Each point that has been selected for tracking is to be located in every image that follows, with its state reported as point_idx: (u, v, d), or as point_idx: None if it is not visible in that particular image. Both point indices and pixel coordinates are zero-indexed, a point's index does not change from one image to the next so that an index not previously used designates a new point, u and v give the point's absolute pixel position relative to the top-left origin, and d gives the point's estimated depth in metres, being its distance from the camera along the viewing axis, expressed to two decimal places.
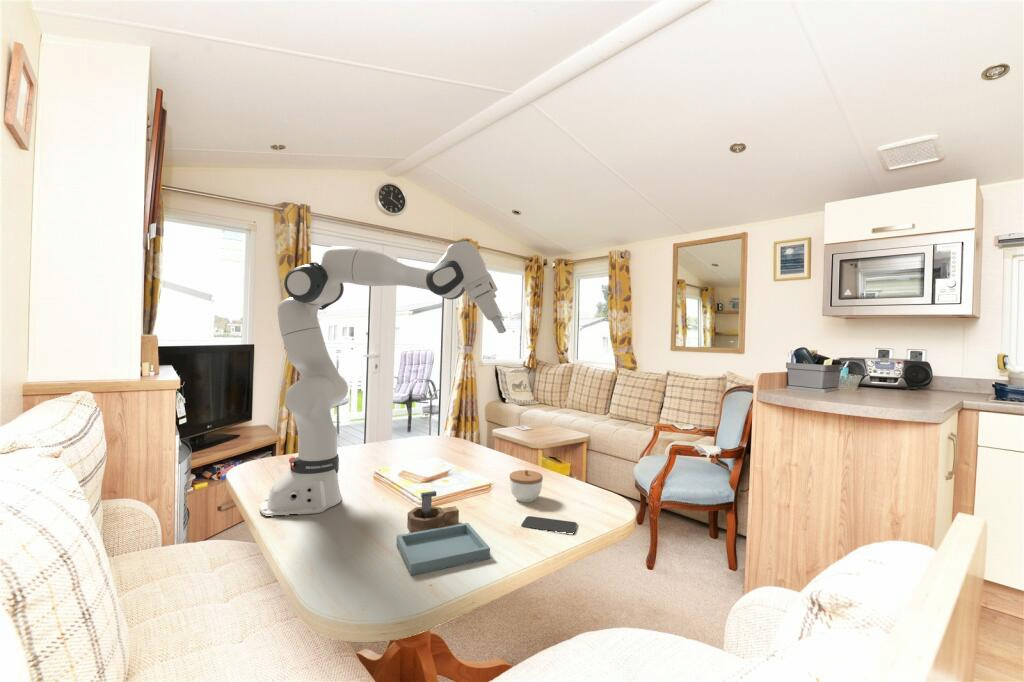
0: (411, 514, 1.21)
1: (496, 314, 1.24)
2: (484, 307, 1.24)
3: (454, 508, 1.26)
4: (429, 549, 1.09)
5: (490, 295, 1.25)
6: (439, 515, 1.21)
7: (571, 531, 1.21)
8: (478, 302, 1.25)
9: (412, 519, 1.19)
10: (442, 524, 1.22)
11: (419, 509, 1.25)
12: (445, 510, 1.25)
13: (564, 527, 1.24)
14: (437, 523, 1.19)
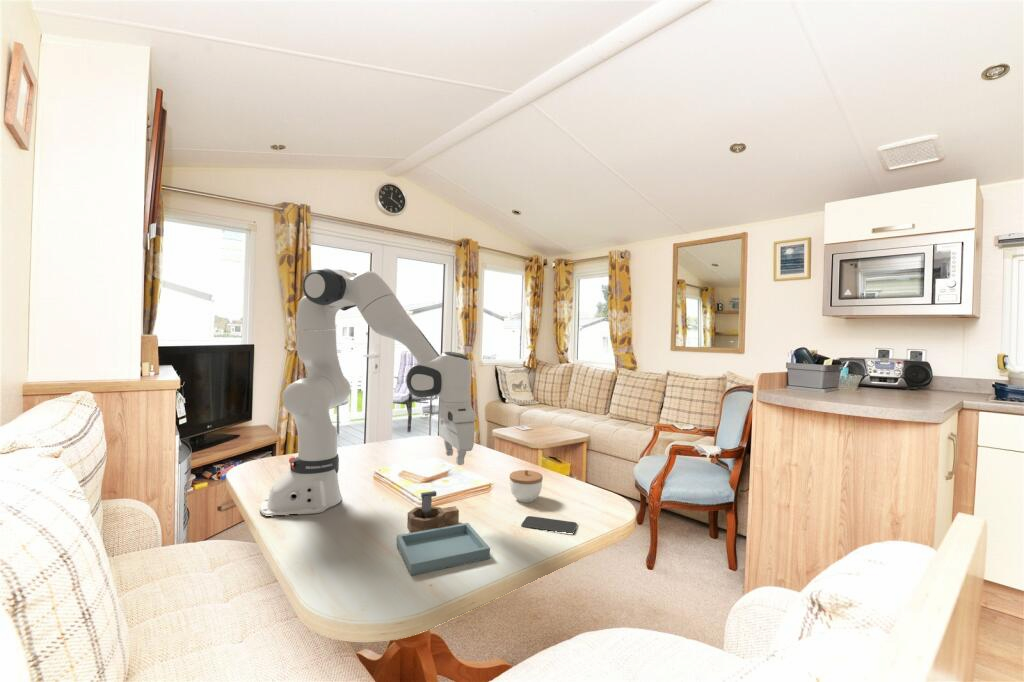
0: (411, 514, 1.21)
1: (470, 449, 1.17)
2: (462, 438, 1.16)
3: (454, 508, 1.26)
4: (429, 549, 1.09)
5: (473, 428, 1.18)
6: (439, 515, 1.21)
7: (571, 531, 1.21)
8: (459, 430, 1.16)
9: (412, 519, 1.19)
10: (442, 524, 1.22)
11: (419, 509, 1.25)
12: (445, 510, 1.25)
13: (564, 527, 1.24)
14: (437, 523, 1.19)
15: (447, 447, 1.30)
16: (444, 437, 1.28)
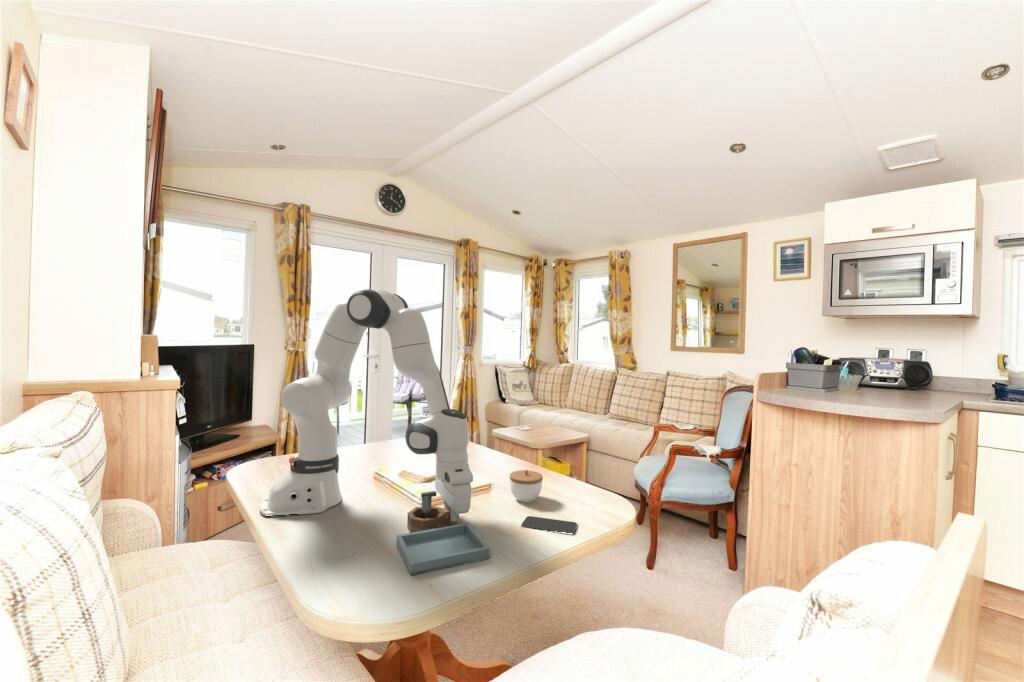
0: (411, 514, 1.21)
1: (467, 511, 1.17)
2: (459, 501, 1.16)
3: None
4: (429, 549, 1.09)
5: (470, 490, 1.18)
6: (439, 515, 1.21)
7: (571, 531, 1.21)
8: (456, 493, 1.16)
9: (412, 519, 1.19)
10: (442, 524, 1.22)
11: (419, 509, 1.25)
12: (445, 510, 1.25)
13: (564, 527, 1.24)
14: (437, 523, 1.19)
15: (446, 506, 1.28)
16: (440, 493, 1.28)
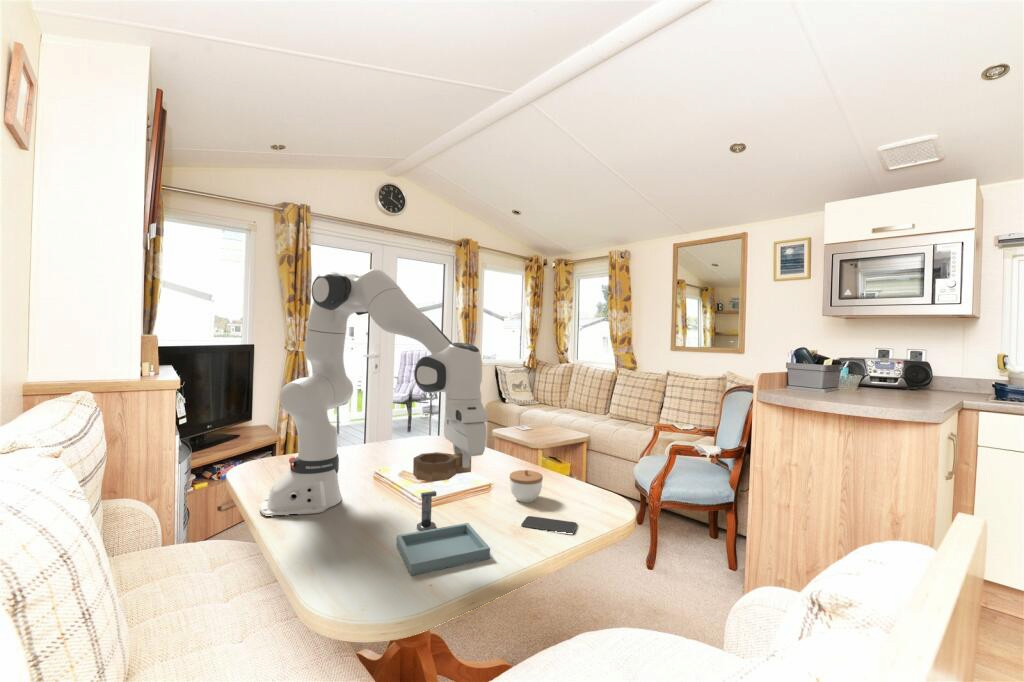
0: (418, 459, 1.07)
1: (481, 453, 1.03)
2: (473, 441, 1.02)
3: None
4: (429, 549, 1.09)
5: (485, 429, 1.03)
6: (449, 460, 1.07)
7: (571, 531, 1.21)
8: (469, 432, 1.02)
9: (419, 463, 1.04)
10: (453, 470, 1.07)
11: (426, 455, 1.11)
12: (456, 456, 1.10)
13: (563, 527, 1.24)
14: (447, 468, 1.05)
15: (456, 453, 1.13)
16: (450, 439, 1.14)
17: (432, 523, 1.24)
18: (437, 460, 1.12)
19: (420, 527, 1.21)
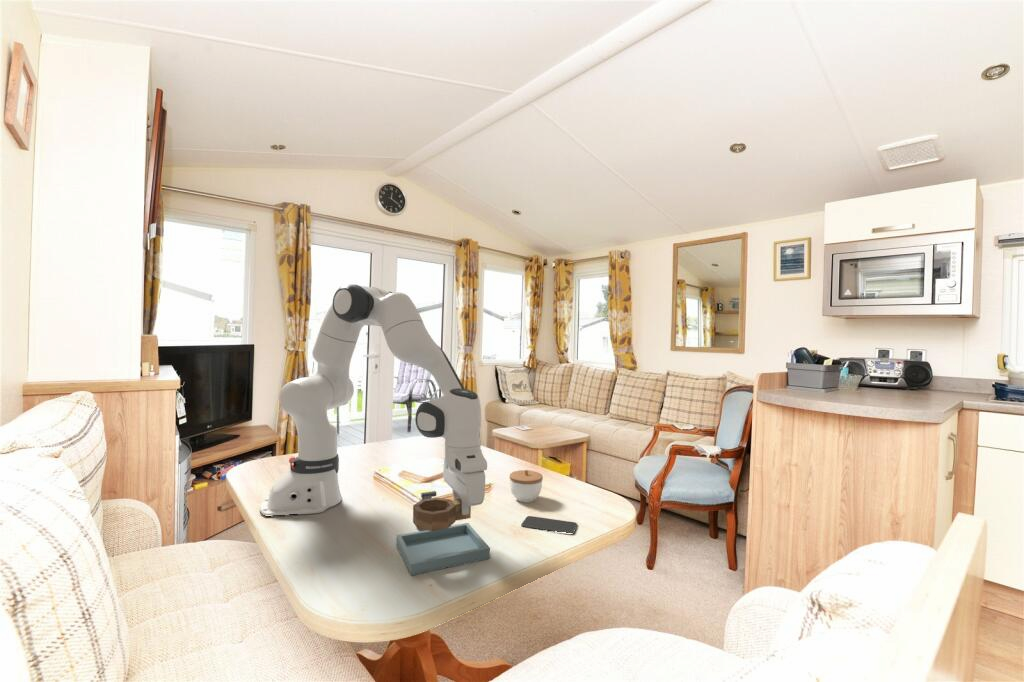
0: (417, 507, 1.07)
1: (480, 503, 1.03)
2: (472, 491, 1.02)
3: None
4: (429, 549, 1.09)
5: (484, 478, 1.04)
6: (449, 508, 1.07)
7: (571, 531, 1.21)
8: (468, 482, 1.02)
9: (418, 512, 1.04)
10: (452, 518, 1.07)
11: (426, 501, 1.11)
12: (455, 502, 1.10)
13: (563, 527, 1.24)
14: (447, 517, 1.05)
15: (456, 498, 1.13)
16: (450, 484, 1.14)
17: None
18: (437, 506, 1.12)
19: None
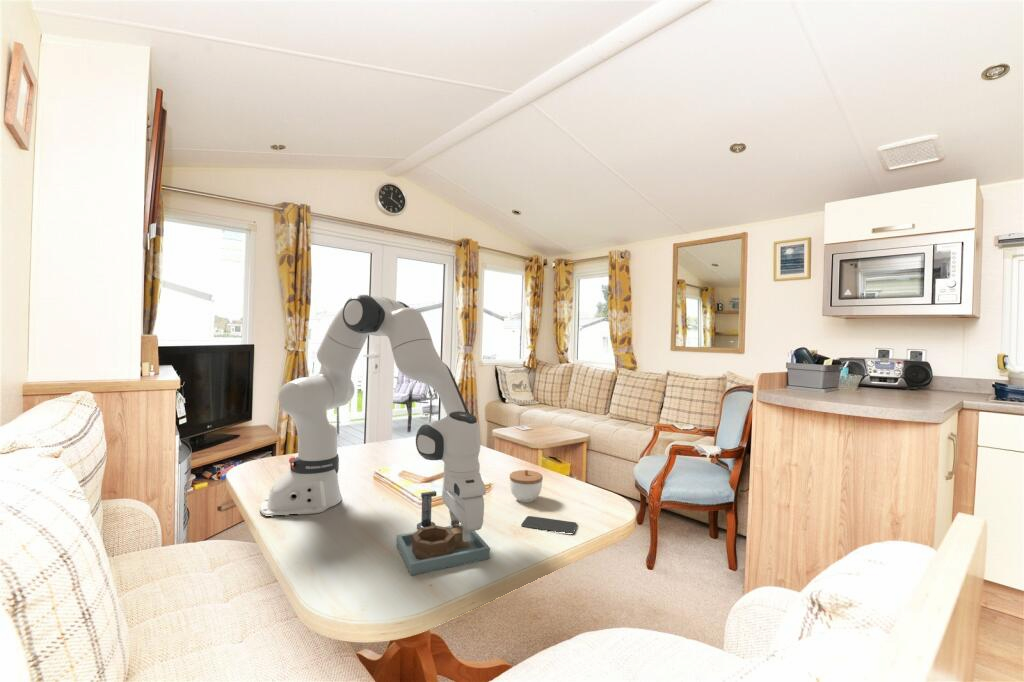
0: (416, 536, 1.07)
1: (479, 528, 1.03)
2: (471, 517, 1.02)
3: None
4: None
5: (483, 504, 1.04)
6: (448, 537, 1.07)
7: (571, 531, 1.21)
8: (467, 507, 1.02)
9: (418, 542, 1.05)
10: (451, 548, 1.08)
11: (425, 530, 1.11)
12: (454, 531, 1.11)
13: (563, 527, 1.24)
14: (446, 547, 1.05)
15: (453, 518, 1.15)
16: (449, 506, 1.14)
17: (432, 523, 1.24)
18: (436, 534, 1.12)
19: (420, 527, 1.21)
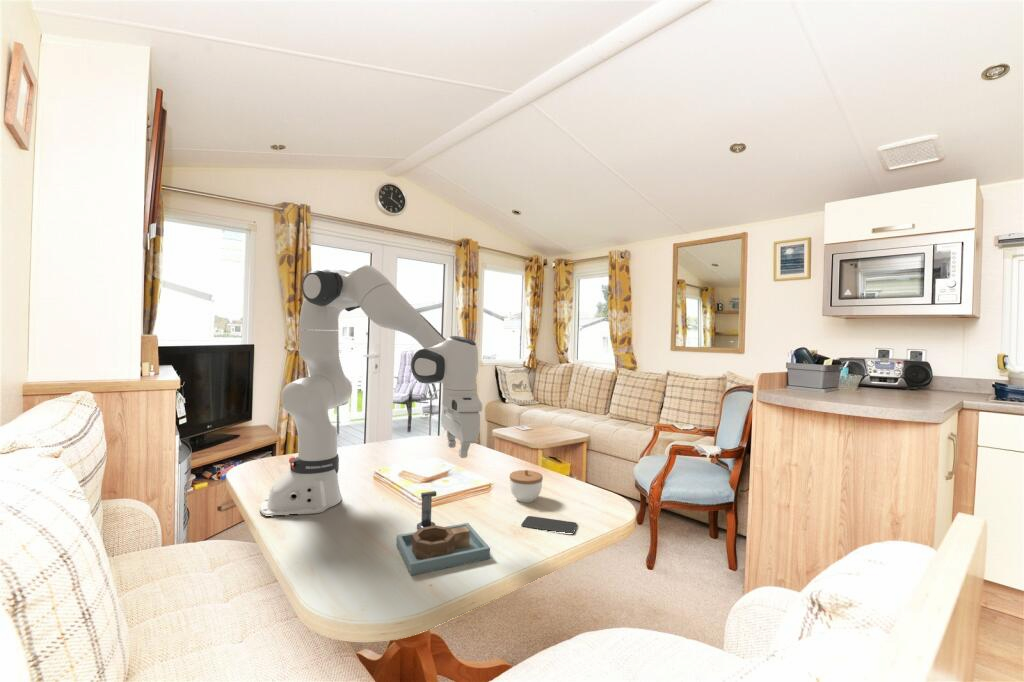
0: (416, 536, 1.07)
1: (475, 442, 1.09)
2: (467, 429, 1.07)
3: (465, 528, 1.12)
4: None
5: (479, 419, 1.09)
6: (448, 537, 1.07)
7: (571, 531, 1.21)
8: (464, 420, 1.07)
9: (418, 542, 1.05)
10: (451, 548, 1.08)
11: (425, 530, 1.11)
12: (454, 531, 1.11)
13: (563, 527, 1.24)
14: (446, 547, 1.05)
15: (449, 438, 1.21)
16: (447, 427, 1.19)
17: (432, 523, 1.24)
18: (436, 534, 1.12)
19: (420, 527, 1.21)
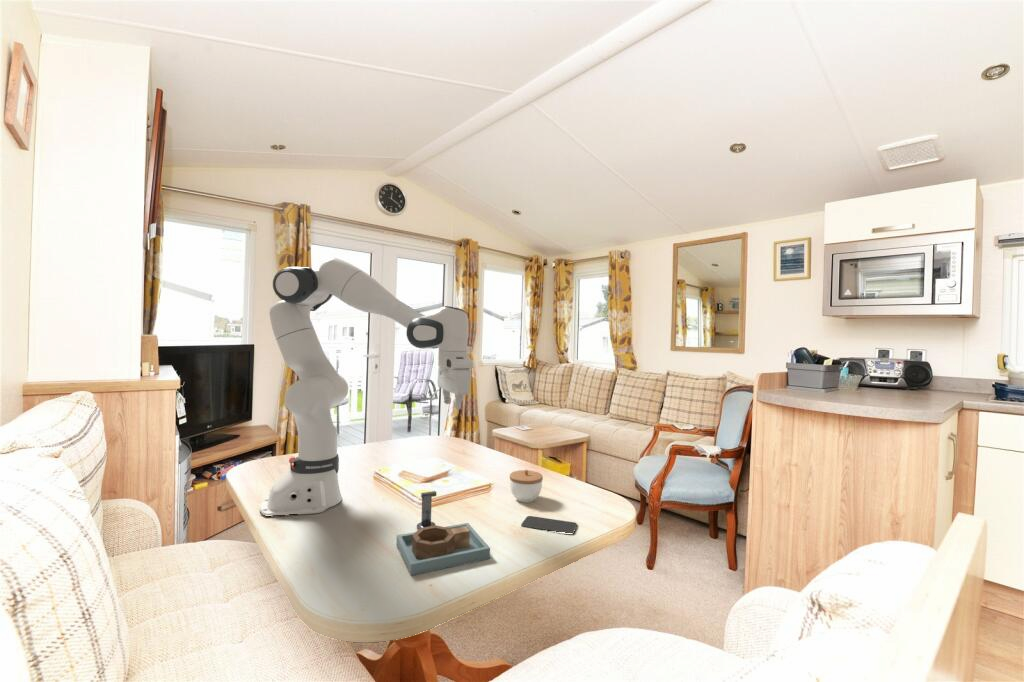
0: (416, 536, 1.07)
1: (467, 393, 1.27)
2: (460, 383, 1.26)
3: (465, 528, 1.12)
4: None
5: (470, 374, 1.27)
6: (448, 537, 1.07)
7: (571, 531, 1.21)
8: (457, 375, 1.26)
9: (418, 542, 1.05)
10: (451, 548, 1.08)
11: (425, 530, 1.11)
12: (454, 531, 1.11)
13: (563, 527, 1.24)
14: (446, 547, 1.05)
15: (445, 396, 1.39)
16: (443, 386, 1.38)
17: (432, 523, 1.24)
18: (436, 534, 1.12)
19: (420, 527, 1.21)
